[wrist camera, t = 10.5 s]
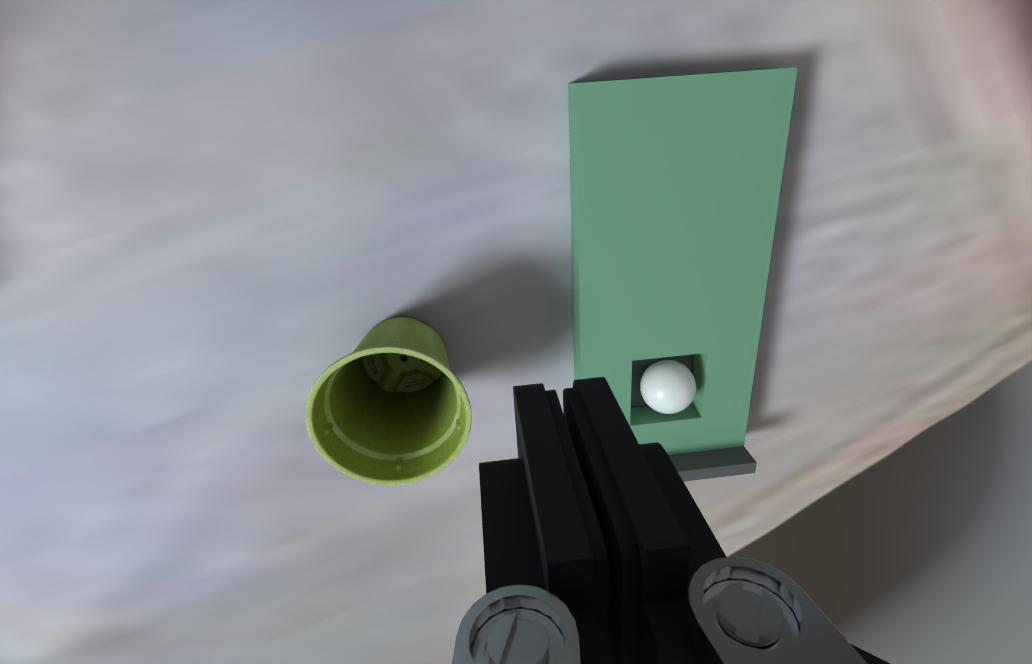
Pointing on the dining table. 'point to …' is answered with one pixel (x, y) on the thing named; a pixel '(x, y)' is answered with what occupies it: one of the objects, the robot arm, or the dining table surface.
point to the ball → (668, 386)
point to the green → (678, 244)
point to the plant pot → (390, 407)
